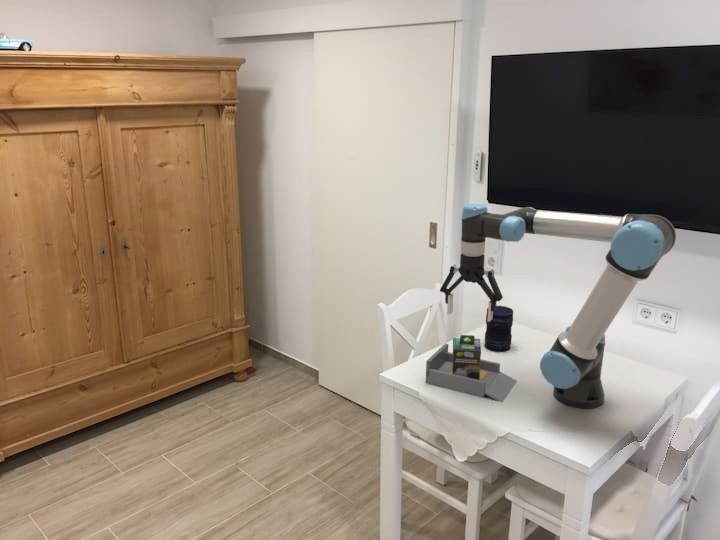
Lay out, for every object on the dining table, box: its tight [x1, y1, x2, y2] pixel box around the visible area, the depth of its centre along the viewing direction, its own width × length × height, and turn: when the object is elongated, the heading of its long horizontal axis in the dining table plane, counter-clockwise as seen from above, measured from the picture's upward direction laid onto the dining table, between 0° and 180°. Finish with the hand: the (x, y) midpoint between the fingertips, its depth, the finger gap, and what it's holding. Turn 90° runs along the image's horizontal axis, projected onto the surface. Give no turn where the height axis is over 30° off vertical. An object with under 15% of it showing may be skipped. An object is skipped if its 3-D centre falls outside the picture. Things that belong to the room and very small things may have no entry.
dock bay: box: [425, 343, 518, 403], centre depth 197 cm, size 26×16×8 cm, turn 60°
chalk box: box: [452, 334, 482, 380], centre depth 196 cm, size 9×9×15 cm
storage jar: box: [484, 305, 514, 353], centre depth 223 cm, size 10×10×15 cm
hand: (469, 316), depth 192 cm, fingers open, 13 cm apart
